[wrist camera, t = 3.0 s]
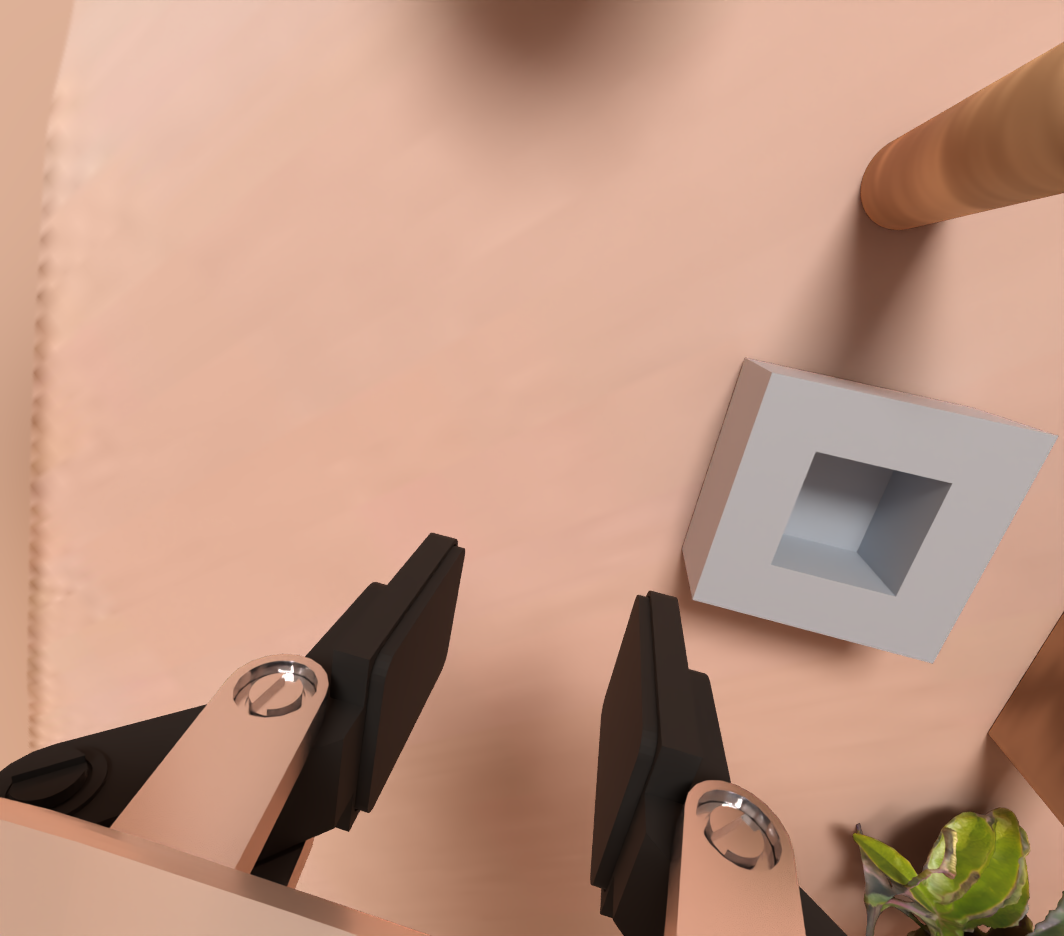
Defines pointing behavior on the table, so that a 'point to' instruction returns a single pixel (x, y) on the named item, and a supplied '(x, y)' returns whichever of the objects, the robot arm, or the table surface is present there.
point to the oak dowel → (975, 152)
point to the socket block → (855, 507)
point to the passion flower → (959, 880)
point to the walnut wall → (1038, 724)
